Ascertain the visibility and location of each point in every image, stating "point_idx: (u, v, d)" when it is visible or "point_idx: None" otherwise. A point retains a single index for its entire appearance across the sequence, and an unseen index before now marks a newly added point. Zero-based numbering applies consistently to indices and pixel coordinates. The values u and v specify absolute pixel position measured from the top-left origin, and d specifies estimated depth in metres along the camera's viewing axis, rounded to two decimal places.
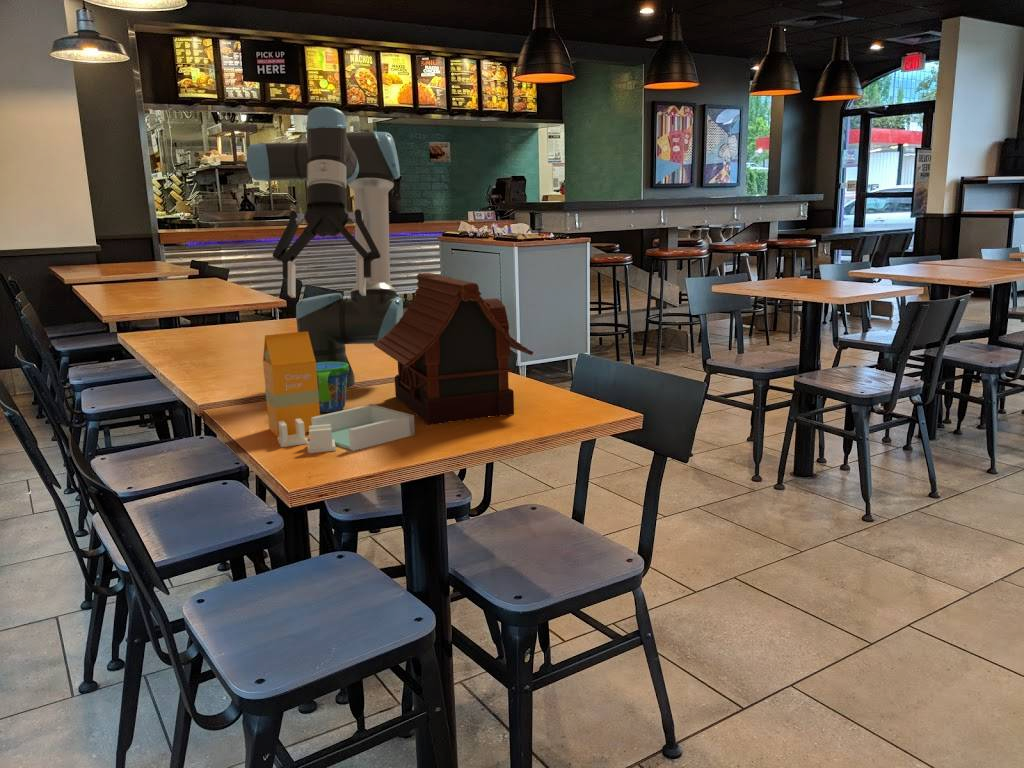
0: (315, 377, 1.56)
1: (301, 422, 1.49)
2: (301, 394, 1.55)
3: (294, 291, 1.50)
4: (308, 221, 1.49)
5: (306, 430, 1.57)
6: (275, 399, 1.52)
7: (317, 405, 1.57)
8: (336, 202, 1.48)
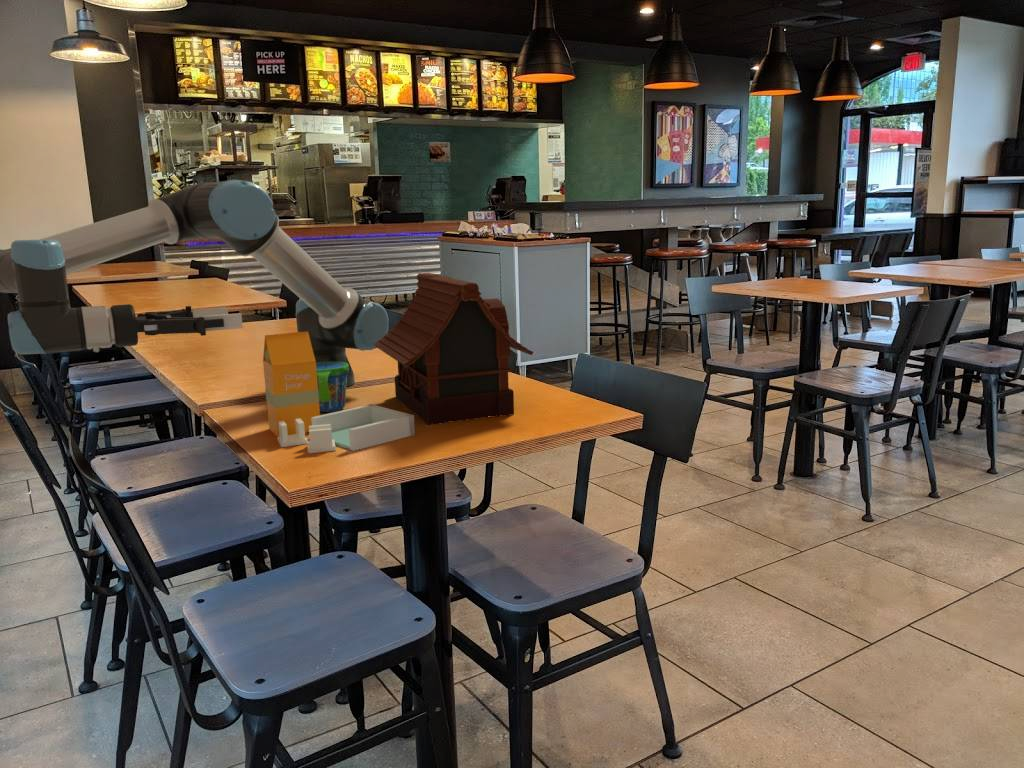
0: (315, 377, 1.56)
1: (301, 422, 1.49)
2: (301, 394, 1.55)
3: (222, 311, 1.54)
4: None
5: (306, 430, 1.57)
6: (275, 399, 1.52)
7: (317, 405, 1.57)
8: (137, 339, 1.40)
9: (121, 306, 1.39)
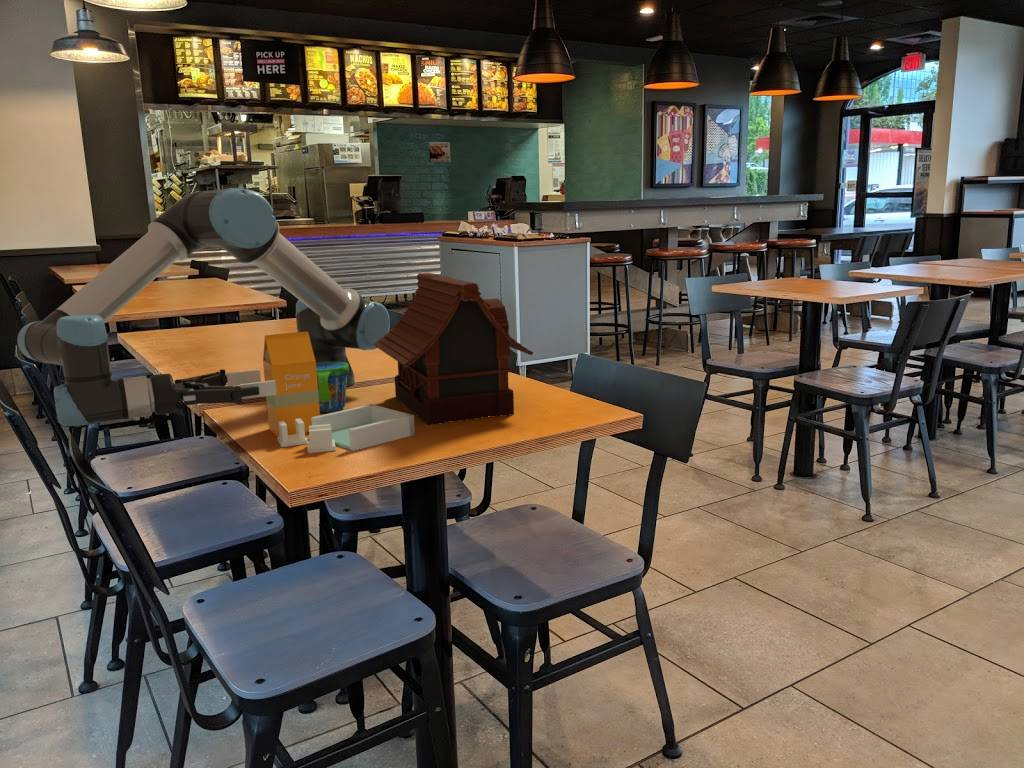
0: (315, 377, 1.56)
1: (301, 422, 1.49)
2: (301, 394, 1.55)
3: (255, 373, 1.59)
4: None
5: (306, 430, 1.57)
6: (275, 399, 1.52)
7: (317, 405, 1.57)
8: (176, 407, 1.45)
9: (160, 376, 1.44)
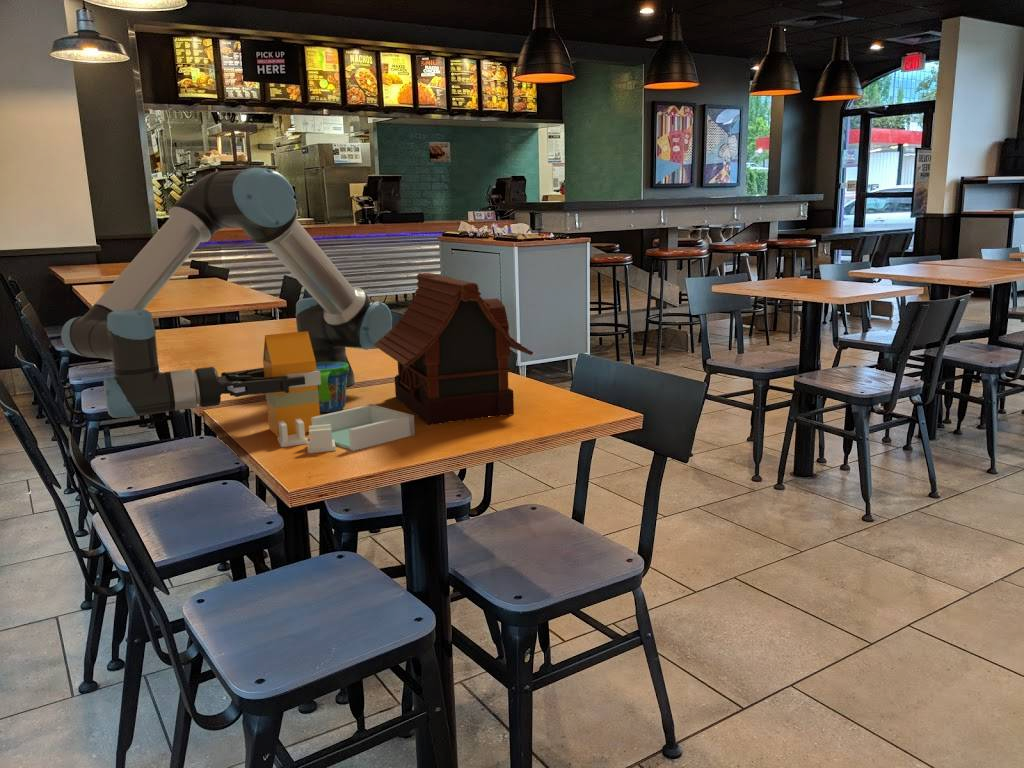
0: None
1: (301, 422, 1.49)
2: (301, 394, 1.55)
3: None
4: None
5: (306, 430, 1.57)
6: (275, 399, 1.52)
7: (317, 405, 1.57)
8: (220, 400, 1.49)
9: (205, 369, 1.48)
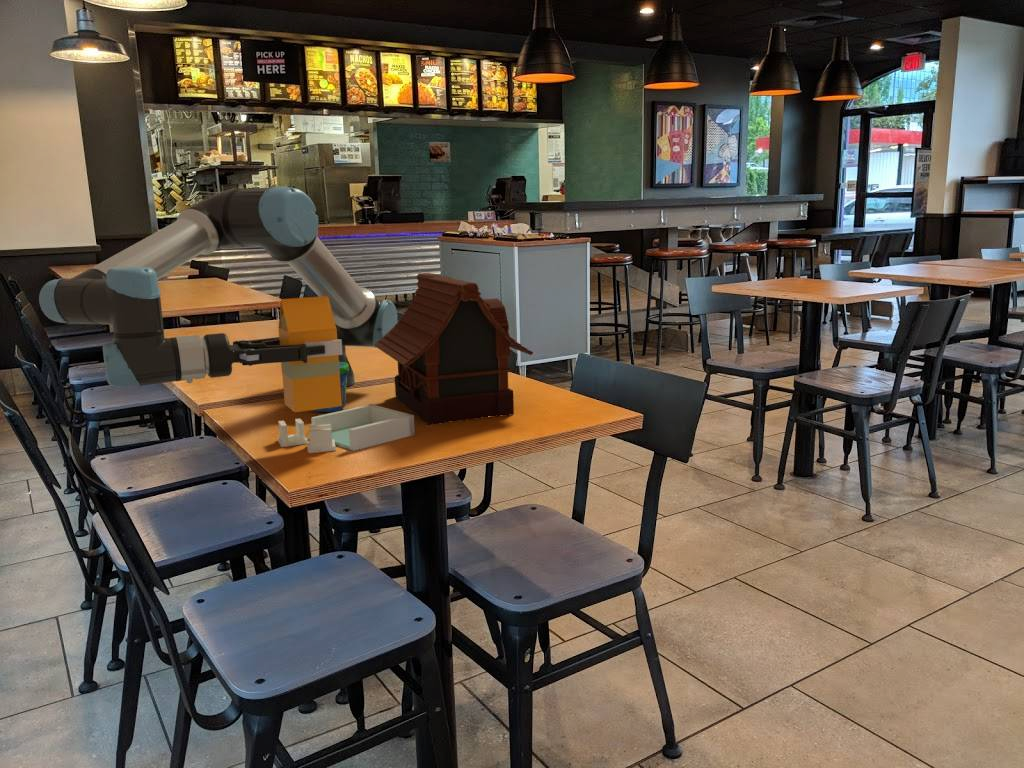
0: None
1: (301, 422, 1.49)
2: (320, 365, 1.40)
3: None
4: None
5: (325, 405, 1.42)
6: (292, 370, 1.38)
7: (338, 377, 1.42)
8: (231, 369, 1.34)
9: (215, 335, 1.33)
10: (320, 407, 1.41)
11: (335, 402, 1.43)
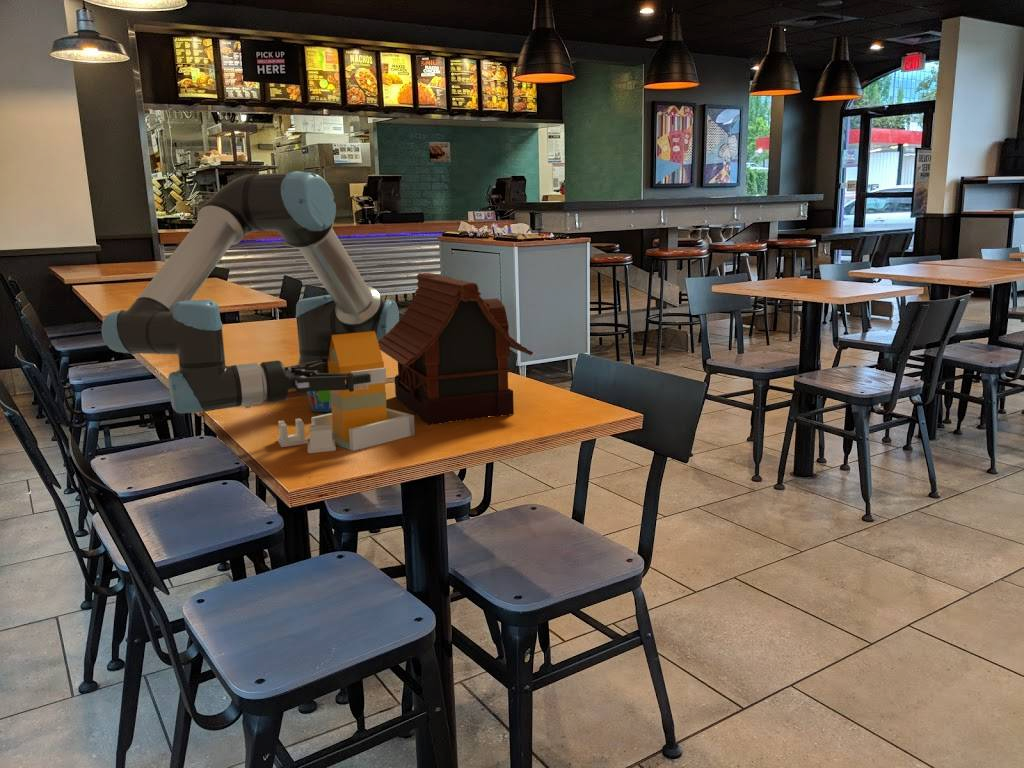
0: None
1: (301, 422, 1.49)
2: (368, 396, 1.48)
3: None
4: None
5: None
6: (342, 402, 1.46)
7: (384, 408, 1.50)
8: None
9: (272, 363, 1.41)
10: None
11: None
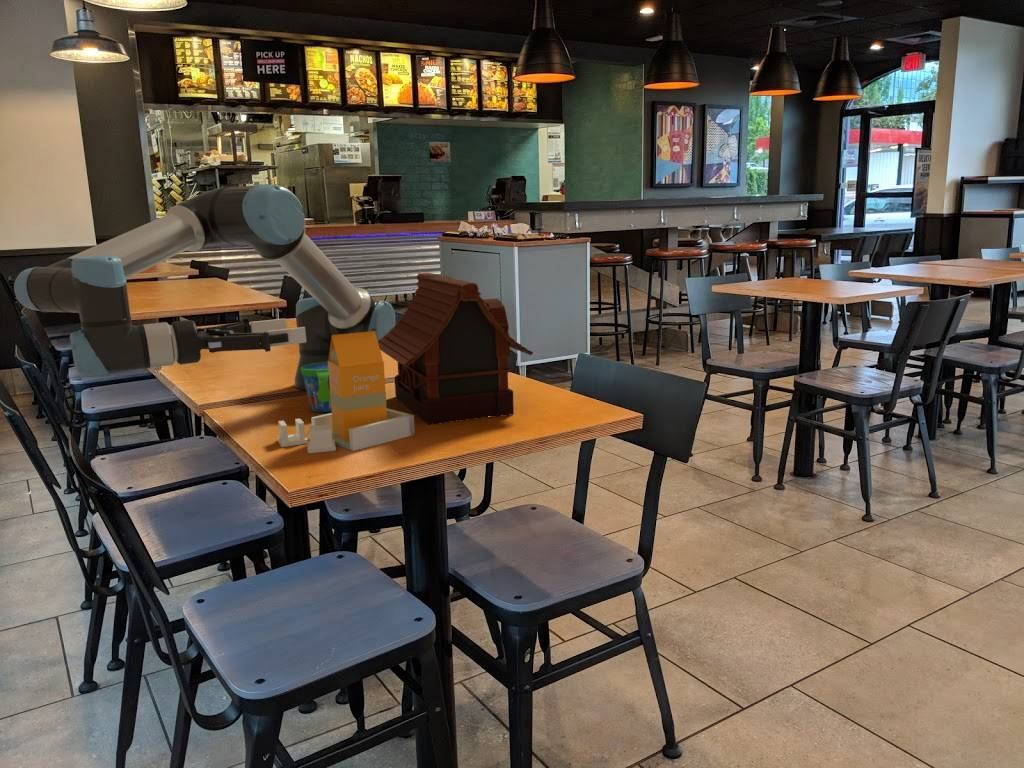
0: (383, 379, 1.49)
1: (301, 422, 1.49)
2: (368, 396, 1.48)
3: (280, 323, 1.50)
4: None
5: None
6: (342, 402, 1.46)
7: (384, 408, 1.50)
8: (200, 356, 1.35)
9: (183, 322, 1.34)
10: None
11: None
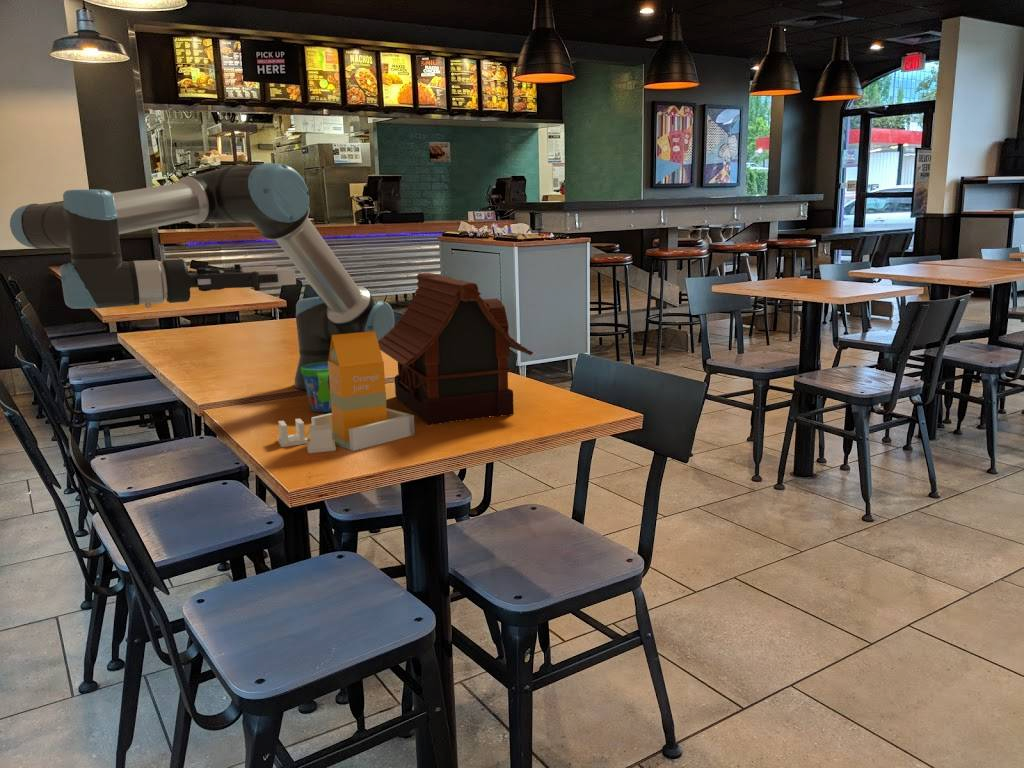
0: (383, 379, 1.49)
1: (301, 422, 1.49)
2: (368, 396, 1.48)
3: (271, 270, 1.51)
4: None
5: None
6: (342, 402, 1.46)
7: (384, 408, 1.50)
8: (189, 294, 1.36)
9: (173, 260, 1.35)
10: None
11: None
